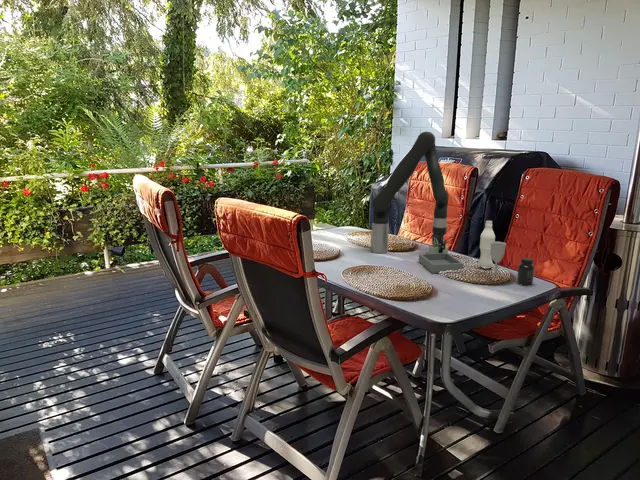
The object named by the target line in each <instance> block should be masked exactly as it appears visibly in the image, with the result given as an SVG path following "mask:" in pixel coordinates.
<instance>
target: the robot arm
mask: <svg viewBox="0 0 640 480" xmlns="http://www.w3.org/2000/svg"><path fill="white" fill-rule="evenodd" d="M436 147H437V146H436V137H435V135H434V133H432V132H430V131H423V132H421V133H419V134H418V136H417V138H416V140H415V142H414V144H413V145H412V146H411V149H410V150H409V151H408V152H407V154H406V155H405V156H404V157H402V159H401V160H400V162H399V163H398V164H397V166H396V167H395V168H394V170H393V171H392V173H391V175H390V176H389V178H388V180H387V182H386V184H385V185H384V186H383V188H382V189H381V191H379V192H378V194H377V195H375V196H374V198H373V199H372V202H371V204H372V209H373V212H372V219H371V220H372V223H371V234H370V251H371V253H373V254H386V253H388V249H389V248H388V247H389V246H388V245H389V244H388V243H389V219H390V204H391V201H392V200H393V199H394V197H395V195H396V194H397V193H398V192H399V191H400V190H401V188H402V187H404V185H405V184H406V183H407V181H408V180H410V177H411V176H412V175H413V174H414V172H415V170H416V168H417V166H418V165H419V163H420V161H421V159H422V158H423V157H424V158H425V162H426V167H427V172H428V177H429V180H430V184H431V188H432V195H433V196H432V197H433V199H434V201H435V207H434V209H433V220H432V233H431V235H432V238H431V240H432V241H431V242H432V243H431V245H437V246H438V248H439V252H438V253H443V250H445V245H446V244H447V240H446V239H444V236H445V235H446V234H447V227H448V219H447V218H448V204H449V200H450V199H449V198H450V197H449V192H448V191H447V190H446V187H445V179H444V175H443V171H442V168H441V165H440V162H439V159H438V154H437V150H436ZM443 246H444V247H443ZM446 246H447V245H446Z"/></svg>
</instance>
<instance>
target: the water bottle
mask: <svg viewBox="0 0 640 480" xmlns="http://www.w3.org/2000/svg"><path fill="white" fill-rule="evenodd" d="M479 237H480V238H479V239H480V241H479V249H480V257H479V259H478V262H477V263H478V267H479V266H482V267H492V268H493V264H494V263H493V262H494V261H493V259H492V256H491V253H490V252H491V244H490V242H496V235H495V232H494V230H493V220H486V221H485V227H484V229H483V231H482V232H481V234H480V236H479Z"/></svg>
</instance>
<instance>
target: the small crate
mask: <svg viewBox="0 0 640 480" xmlns="http://www.w3.org/2000/svg"><path fill="white" fill-rule="evenodd" d="M443 247H444V246H443ZM438 252H439V248H438V246H437V245H433V244H428V253H427V254H432V253H438ZM443 253H449V247H448V246H447V245H445V250H443Z"/></svg>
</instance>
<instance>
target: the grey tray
mask: <svg viewBox="0 0 640 480" xmlns="http://www.w3.org/2000/svg"><path fill="white" fill-rule="evenodd" d="M418 263H419V264H420V263H421V264H420V265H421V266H423V267H424V266H425V267H426V268H425V267H424V268H425V269H427V271H429V272H430V273H431V274H433V275H434V274H436V273H437V274H439V273H438V272H440V271H446V270H458V269H463V270H464V263H463V261H460V260H459V259H458V258H457V257H455V256H453V255H452V254H450V253H449V252H448V253H432V254H428V253H419V254H418Z"/></svg>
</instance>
